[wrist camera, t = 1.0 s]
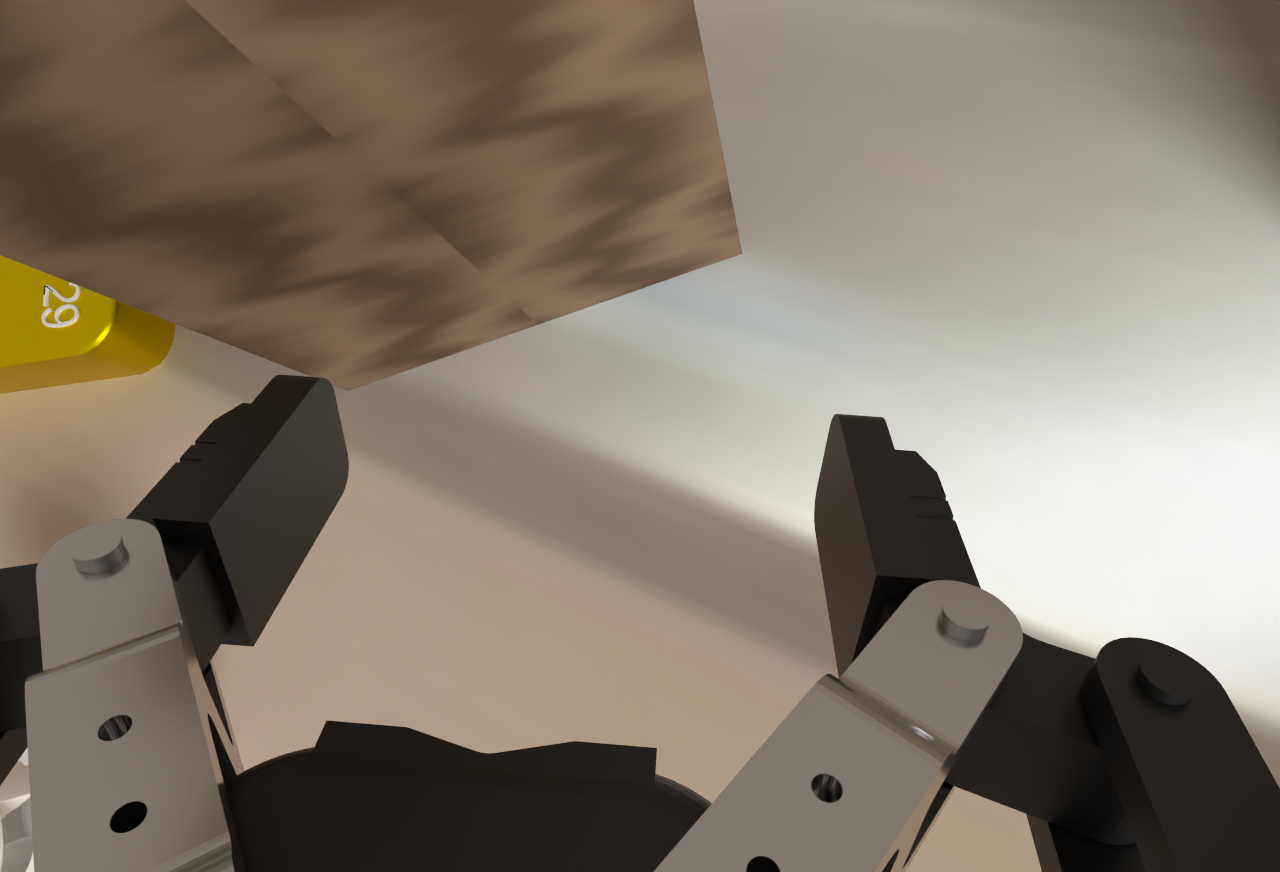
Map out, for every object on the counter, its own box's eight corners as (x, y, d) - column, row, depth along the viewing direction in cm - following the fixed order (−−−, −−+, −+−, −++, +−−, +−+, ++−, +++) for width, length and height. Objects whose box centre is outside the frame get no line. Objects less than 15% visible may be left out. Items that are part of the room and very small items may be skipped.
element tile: (-38, 154, 47) (-130, 109, 43) (187, 109, 45) (115, 55, 40) (-58, 404, 45) (-158, 385, 40) (180, 371, 42) (102, 347, 37)
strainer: (295, 778, 37) (-36, 916, 22) (180, 874, 37) (-219, 1071, 23) (219, 652, 38) (-134, 703, 24) (111, 744, 39) (-302, 850, 24)
